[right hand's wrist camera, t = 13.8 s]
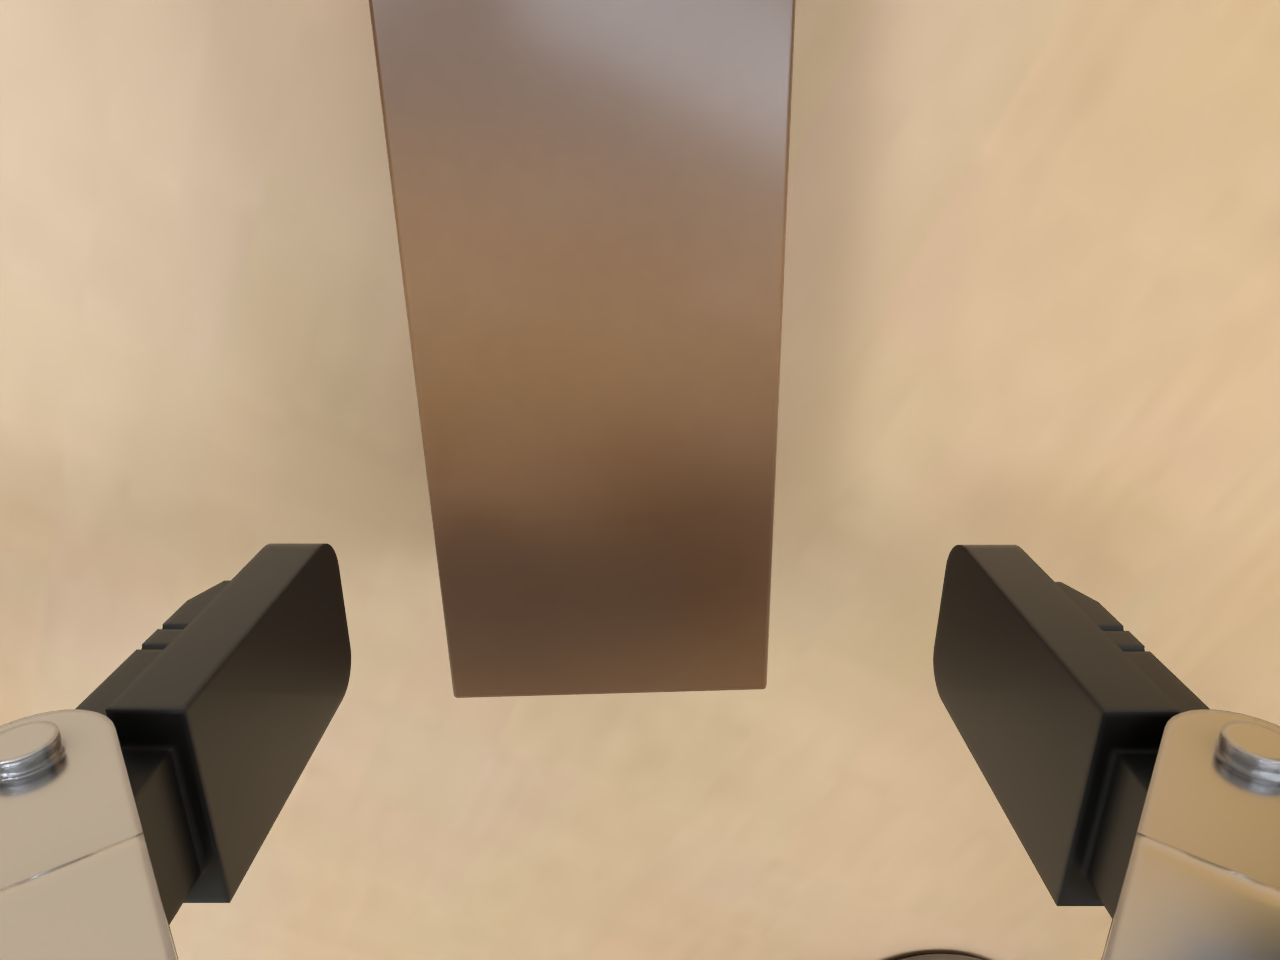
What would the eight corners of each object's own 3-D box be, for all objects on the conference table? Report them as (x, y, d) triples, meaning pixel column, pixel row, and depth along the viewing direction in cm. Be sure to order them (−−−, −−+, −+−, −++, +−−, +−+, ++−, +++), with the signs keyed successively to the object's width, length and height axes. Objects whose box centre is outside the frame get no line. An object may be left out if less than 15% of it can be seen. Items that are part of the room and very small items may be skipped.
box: (708, 473, 27) (766, 690, 16) (522, 478, 27) (453, 699, 16) (718, -421, 19) (847, -1197, 8) (452, -417, 19) (220, -1193, 8)
